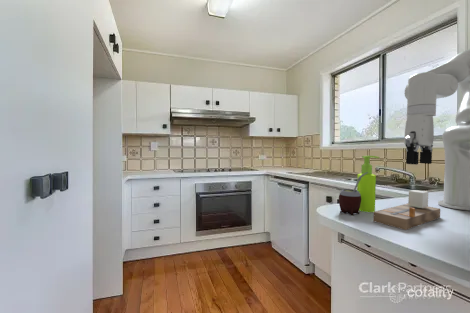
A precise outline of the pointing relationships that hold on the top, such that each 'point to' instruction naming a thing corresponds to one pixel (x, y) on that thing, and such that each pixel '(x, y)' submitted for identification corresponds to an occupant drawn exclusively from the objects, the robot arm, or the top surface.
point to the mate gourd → (350, 200)
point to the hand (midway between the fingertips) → (419, 163)
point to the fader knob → (418, 199)
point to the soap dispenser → (367, 186)
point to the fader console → (406, 216)
